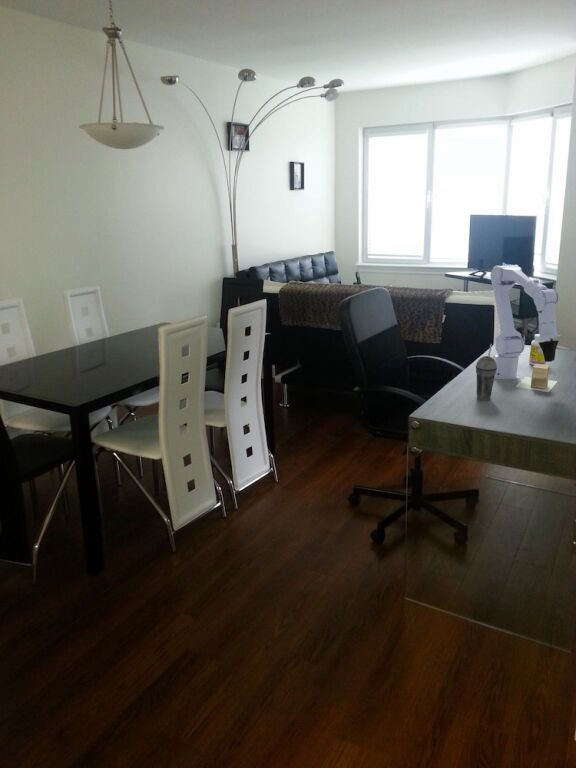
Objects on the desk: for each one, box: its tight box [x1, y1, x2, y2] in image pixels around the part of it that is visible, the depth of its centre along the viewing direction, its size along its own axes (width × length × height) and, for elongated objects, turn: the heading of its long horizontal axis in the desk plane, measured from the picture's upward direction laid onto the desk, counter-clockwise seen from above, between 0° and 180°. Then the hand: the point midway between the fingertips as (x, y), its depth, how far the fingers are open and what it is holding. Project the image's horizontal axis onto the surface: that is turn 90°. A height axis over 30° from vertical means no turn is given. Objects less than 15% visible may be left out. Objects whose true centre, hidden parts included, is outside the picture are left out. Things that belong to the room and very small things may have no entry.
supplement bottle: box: [528, 333, 547, 366], centre depth 260 cm, size 7×7×13 cm
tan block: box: [531, 364, 551, 389], centre depth 230 cm, size 5×5×8 cm
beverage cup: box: [475, 343, 497, 402], centre depth 216 cm, size 7×7×20 cm
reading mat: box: [515, 376, 558, 393], centre depth 234 cm, size 16×12×1 cm
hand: (549, 361), depth 220 cm, fingers open, 7 cm apart
